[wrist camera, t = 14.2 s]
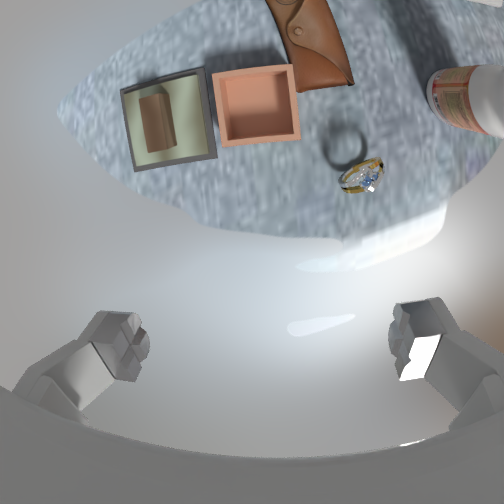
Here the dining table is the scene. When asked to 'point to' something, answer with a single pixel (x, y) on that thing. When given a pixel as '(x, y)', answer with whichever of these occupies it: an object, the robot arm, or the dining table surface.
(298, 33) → the sunglasses case
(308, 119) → the dining table surface
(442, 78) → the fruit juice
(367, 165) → the ring
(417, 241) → the dining table surface
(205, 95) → the mat
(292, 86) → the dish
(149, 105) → the lid
